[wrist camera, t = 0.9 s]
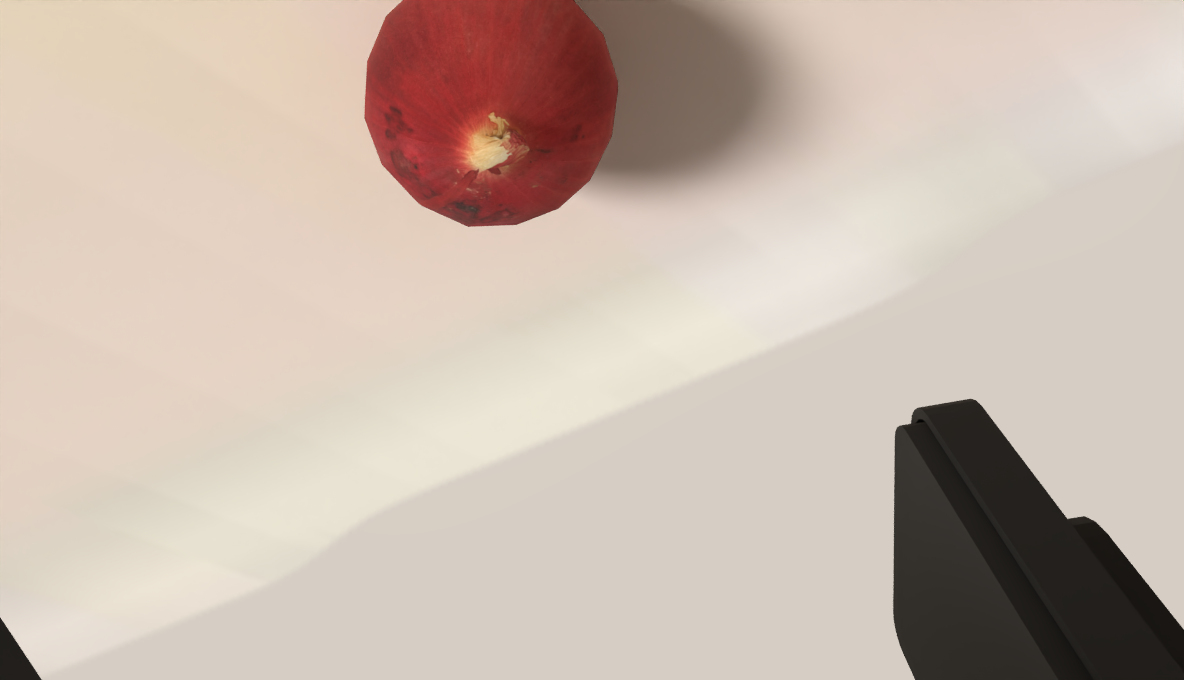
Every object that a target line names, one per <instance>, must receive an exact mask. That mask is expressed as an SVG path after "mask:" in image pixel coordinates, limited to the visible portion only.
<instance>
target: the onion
mask: <svg viewBox="0 0 1184 680" xmlns="http://www.w3.org/2000/svg"><path fill="white" fill-rule="evenodd" d="M617 93H618V80H617V77H616V74H615V71H614V67H613V64H612V61H611V58H610V54H609V51H608V48H607V45H606V41H605V38H604V35H603V34H602V33H601V31H600V30H599V29H598V28H597V27H596V26H595V24H594V23H593V22H592V21H591V20H590V19H589V18H588V16H587V15H586V14H585V13H584V12H583V11H582V9H581V8H580V7H579V6H578V5H577V4H576V3H575V1H574V0H403V1H402V2H401V3H400V4H398V5H397V6H396V7H395V8H394V9H393V10H392V11H391V12H390V13H389V14H388V15H387V16H386V18H385V20H384V22H383V25H382V27H381V30H380V32H379V34H378V37H377V39H376V42H375V44H374V46H373V49H372V51H371V54H370V56H369V58H368V61H367V76H366V95H365V121H366V123H367V126H368V129H369V131H370V134H371V137H372V139H373V142H374V145H375V147H376V150H377V153H378V155H379V158H380V161H381V163H382V165H383V166H384V167H385V168H386V169H387V170H388V171H389V172H390V173H391V175H392V176H393V177H394V178H395V179H396V180H397V181H398V182H399V183H400V184H401V185H402V186H403V187H404V188H405V189H406V191H407V192H408V193H409V194H410V195H411V196H412V197H413V198H414V199H415V200H416V201H417V202H418V203H419V204H420V205H422V206H424V207H426V208H428V209H430V210H433V211H435V212H437V213H439V214H441V215H444V216H446V217H448V218H450V219H452V220H455V221H457V222H459V223H461V224H464V225H466V226H468V227H471V226H496V225H517V224H520V223H522V222H525V221H527V220H530V219H533V218H535V217H538V216H540V215H543V214H546V213H548V212H551V211H553V210H556V209H558V208H560V207H561V206H562V205H563V204H564V203H565V202H566V201H567V200H568V199H570V198H571V197H572V196H573V195H574V194H575V193H576V192H577V191H579V190H580V189H581V188H582V187H583V186H584V185H585V184H586V183H587V182H589V181H590V179H591V177H592V175H593V173H594V171H595V169H596V167H597V165H598V163H599V161H600V159H601V157H602V155H603V153H604V151H605V149H606V147H607V145H608V143H609V141H610V139H611V137H612V131H613V124H614V116H615V109H616V101H617Z"/></svg>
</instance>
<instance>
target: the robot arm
mask: <svg viewBox="0 0 1184 680" xmlns="http://www.w3.org/2000/svg"><path fill="white" fill-rule="evenodd" d="M894 487H895V489H894V597H893V598H894V599H893V607H894V608H893V614H894V623H895V628H896V633H897V637H898V640H899V643H900V646H901V649H902V651H903V654H904V656H905V658H906V660H907V663H908V665H909V667H910V669H911V671H912V673H913V676H914V678H915V680H1184V629H1183V628H1182V627H1181V626H1180V624H1179V623H1178V622H1177V621H1176V619H1175V618H1174V617H1173V616H1172V614H1171V613H1170V612H1169V611H1168V609H1167V608H1166V607H1165V605H1164V604H1163V603H1162V602H1161V600H1160V599H1159V598H1158V597H1157V595H1156V594H1155V593H1154V592H1153V590H1152V589H1151V588H1150V587H1149V585H1148V584H1147V583H1146V582H1145V580H1144V579H1143V578H1142V577H1141V575H1140V574H1139V573H1138V572H1137V570H1136V569H1135V568H1134V567H1133V565H1132V564H1131V563H1130V562H1129V561H1128V559H1127V558H1126V557H1125V555H1124V554H1123V553H1122V552H1121V550H1120V549H1119V548H1118V546H1117V545H1116V544H1115V543H1114V542H1113V540H1112V539H1111V538H1110V536H1109V535H1108V534H1107V533H1106V532H1105V531H1104V530H1103V529H1102V528H1101V527H1100V526H1099V525H1098V524H1097V523H1096V522H1095V521H1093V520H1091V519H1089V518H1087V517H1084V516H1083V517H1077V518H1071V519H1067V518H1066V517H1065V515H1064V514H1063V513H1062V511H1061V510H1060V509H1059V508H1058V506H1057V505H1056V503H1055V502H1054V501H1053V499H1052V498H1051V497H1050V495H1049V494H1048V493H1047V492H1046V490H1045V489H1044V488H1043V486H1042V485H1041V484H1040V482H1039V481H1038V480H1037V478H1036V477H1035V476H1034V474H1033V473H1032V472H1031V471H1030V469H1029V468H1028V466H1027V465H1026V464H1025V462H1024V461H1023V460H1022V458H1021V457H1020V456H1019V455H1018V453H1017V452H1016V451H1015V449H1014V448H1013V447H1012V445H1011V444H1010V443H1009V441H1008V440H1007V439H1006V437H1005V436H1004V435H1003V433H1002V432H1001V431H1000V430H999V428H998V427H997V426H996V424H995V423H994V422H993V420H992V419H991V418H990V416H989V415H988V414H987V412H986V411H985V410H984V408H983V407H982V406H981V405H980V404H979V403H978V402H977V401H976V400H973V399H967V400H961V401H956V402H950V403H944V404H938V405H932V406H927V407H921V408H917V409H915V410H914V412H913V415H912V420H911V424H908V425H902V426H899V427H897V429H896V432H895V485H894ZM0 680H41V678H40V677H39V675H38V674H37V672H36V671H35V669H34V668H33V666H32V665H31V663H30V662H29V660H28V659H27V657H26V656H25V654H24V653H23V651H22V650H21V648H20V647H19V645H18V644H17V642H16V641H15V639H14V638H13V636H12V635H11V633H10V631H9V630H8V628H7V627H6V625H5V624H4V622H3V621H2V619H1V618H0Z"/></svg>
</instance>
